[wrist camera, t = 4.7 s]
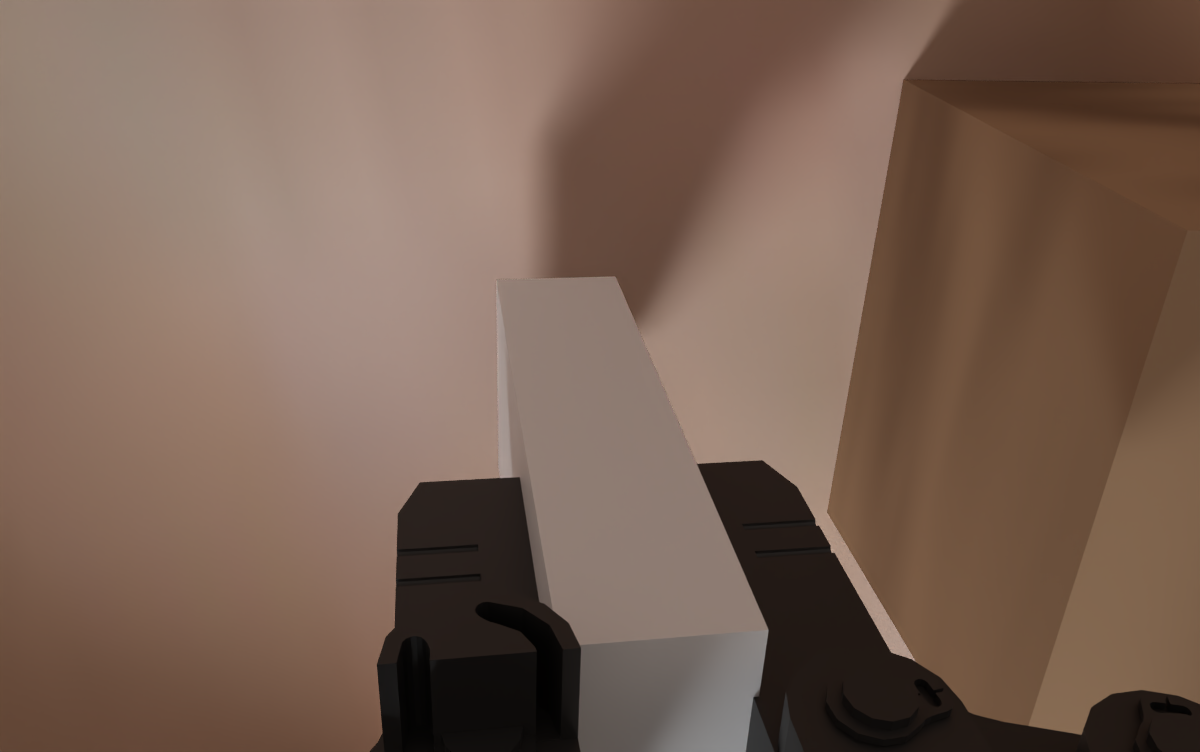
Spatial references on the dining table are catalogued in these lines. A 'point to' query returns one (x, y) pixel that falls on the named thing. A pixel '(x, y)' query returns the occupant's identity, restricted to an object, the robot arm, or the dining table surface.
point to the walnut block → (1034, 394)
